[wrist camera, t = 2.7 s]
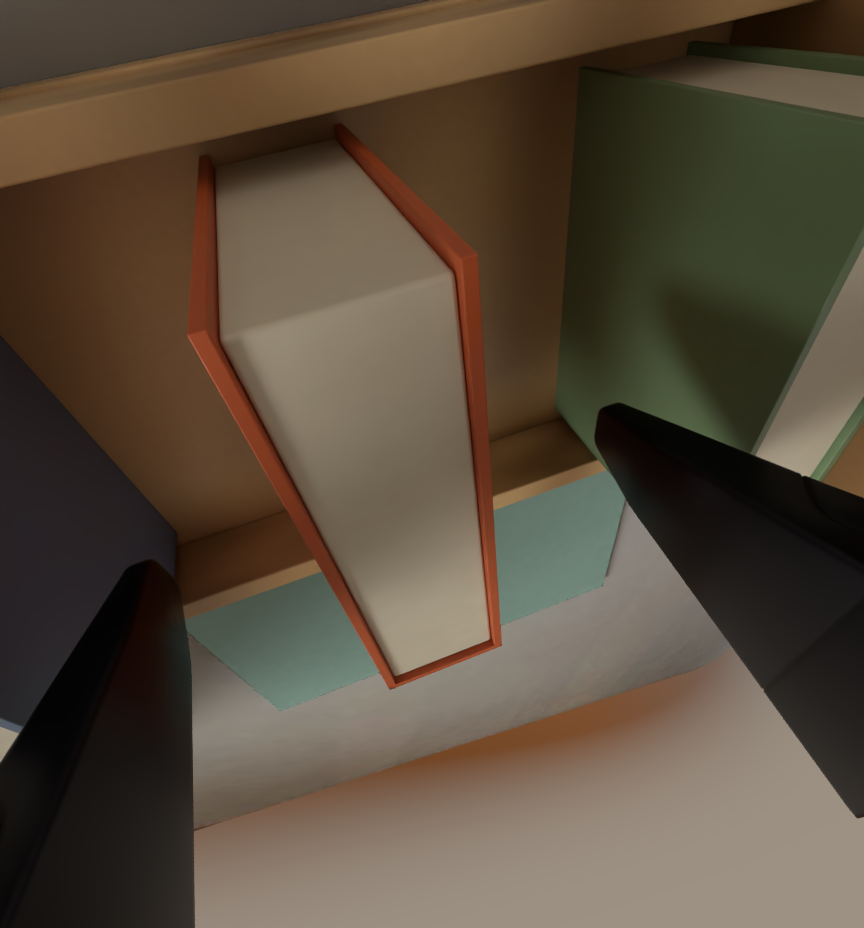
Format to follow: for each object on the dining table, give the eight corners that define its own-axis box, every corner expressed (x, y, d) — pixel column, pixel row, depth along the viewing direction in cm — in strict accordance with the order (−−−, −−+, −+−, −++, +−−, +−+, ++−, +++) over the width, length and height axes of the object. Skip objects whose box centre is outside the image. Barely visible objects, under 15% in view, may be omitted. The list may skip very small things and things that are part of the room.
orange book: (342, 122, 10) (478, 252, 5) (415, 454, 17) (502, 646, 12) (198, 155, 10) (185, 334, 5) (335, 480, 17) (389, 690, 12)
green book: (695, 40, 11) (1105, 78, 6) (625, 384, 18) (785, 533, 13) (579, 67, 11) (911, 132, 6) (554, 408, 18) (690, 571, 13)
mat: (637, 428, 22) (642, 434, 22) (599, 581, 32) (603, 586, 32) (154, 596, 19) (154, 604, 19) (279, 705, 29) (280, 711, 29)
